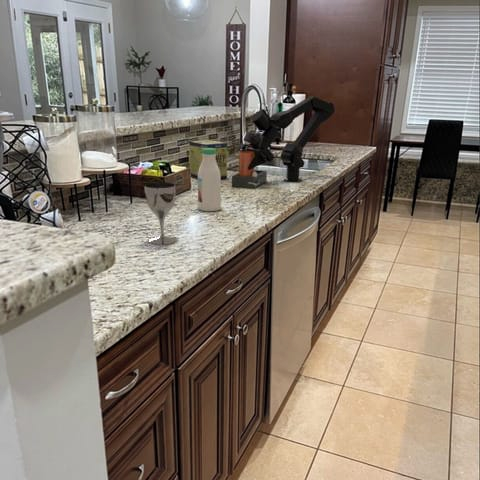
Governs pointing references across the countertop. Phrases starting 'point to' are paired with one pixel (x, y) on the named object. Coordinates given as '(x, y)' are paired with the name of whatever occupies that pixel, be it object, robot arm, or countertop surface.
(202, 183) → the milk bottle
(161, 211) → the wine glass
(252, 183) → the pacifier
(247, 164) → the tumbler
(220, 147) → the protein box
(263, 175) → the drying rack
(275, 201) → the countertop surface
